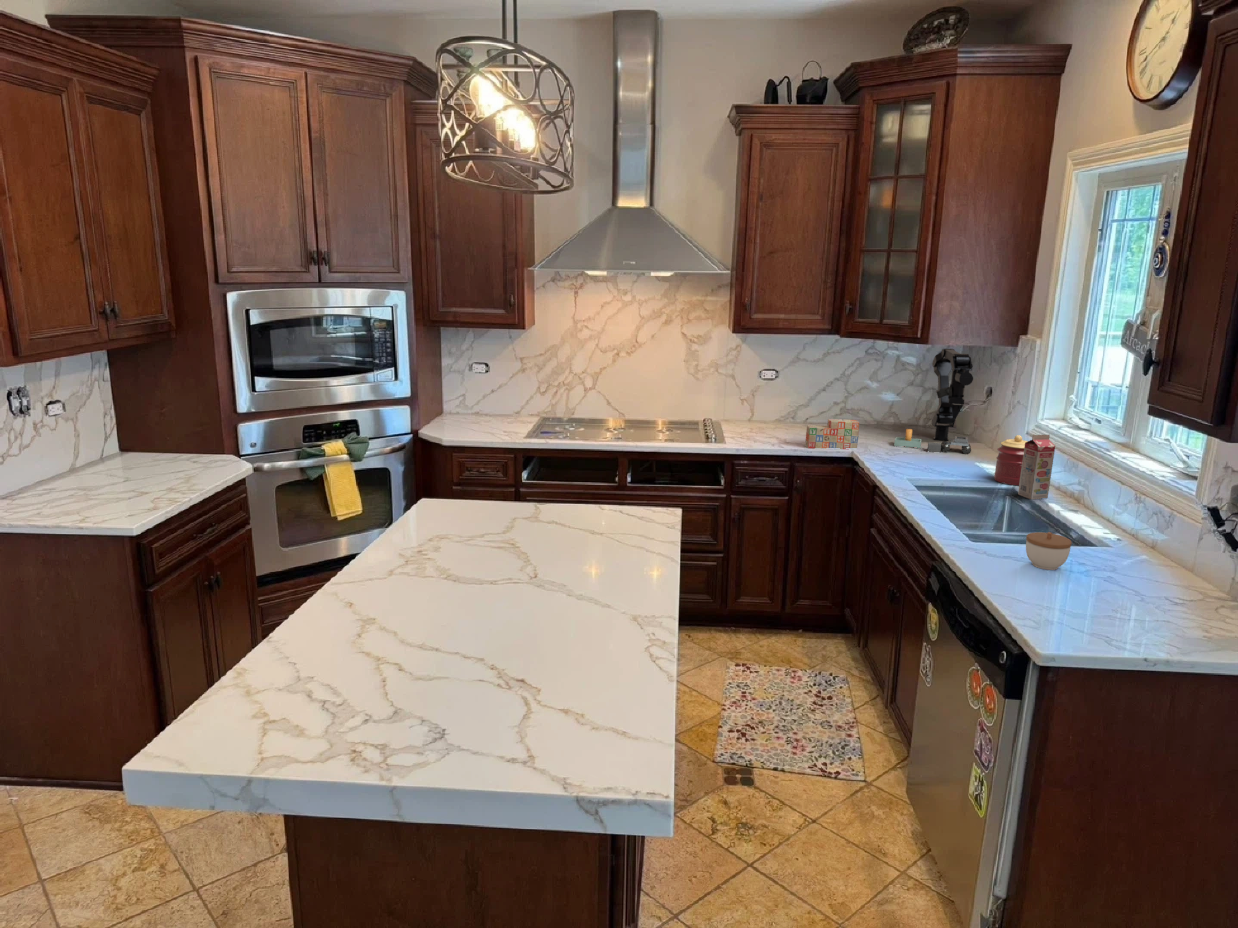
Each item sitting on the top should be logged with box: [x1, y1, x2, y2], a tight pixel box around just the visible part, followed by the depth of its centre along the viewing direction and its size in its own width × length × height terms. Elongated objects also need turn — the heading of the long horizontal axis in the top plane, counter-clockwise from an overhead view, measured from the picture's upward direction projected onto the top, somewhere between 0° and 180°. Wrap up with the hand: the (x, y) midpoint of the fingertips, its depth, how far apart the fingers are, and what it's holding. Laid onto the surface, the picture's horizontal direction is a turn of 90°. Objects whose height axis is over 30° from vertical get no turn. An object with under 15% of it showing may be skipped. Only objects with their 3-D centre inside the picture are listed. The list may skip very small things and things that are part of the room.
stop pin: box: [904, 428, 913, 441], centre depth 366 cm, size 3×3×7 cm
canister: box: [993, 434, 1029, 486], centre depth 306 cm, size 13×13×18 cm
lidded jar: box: [1025, 531, 1073, 571], centre depth 220 cm, size 11×11×9 cm
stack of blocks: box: [804, 418, 860, 450], centre depth 360 cm, size 21×6×12 cm, turn 88°
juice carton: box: [1017, 434, 1056, 500], centre depth 286 cm, size 7×7×22 cm
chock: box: [927, 442, 942, 453], centre depth 357 cm, size 4×5×4 cm
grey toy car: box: [940, 435, 972, 455], centre depth 357 cm, size 8×12×6 cm, turn 69°
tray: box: [893, 436, 922, 449], centre depth 366 cm, size 6×11×3 cm, turn 69°
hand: (954, 417), depth 365 cm, fingers open, 9 cm apart
